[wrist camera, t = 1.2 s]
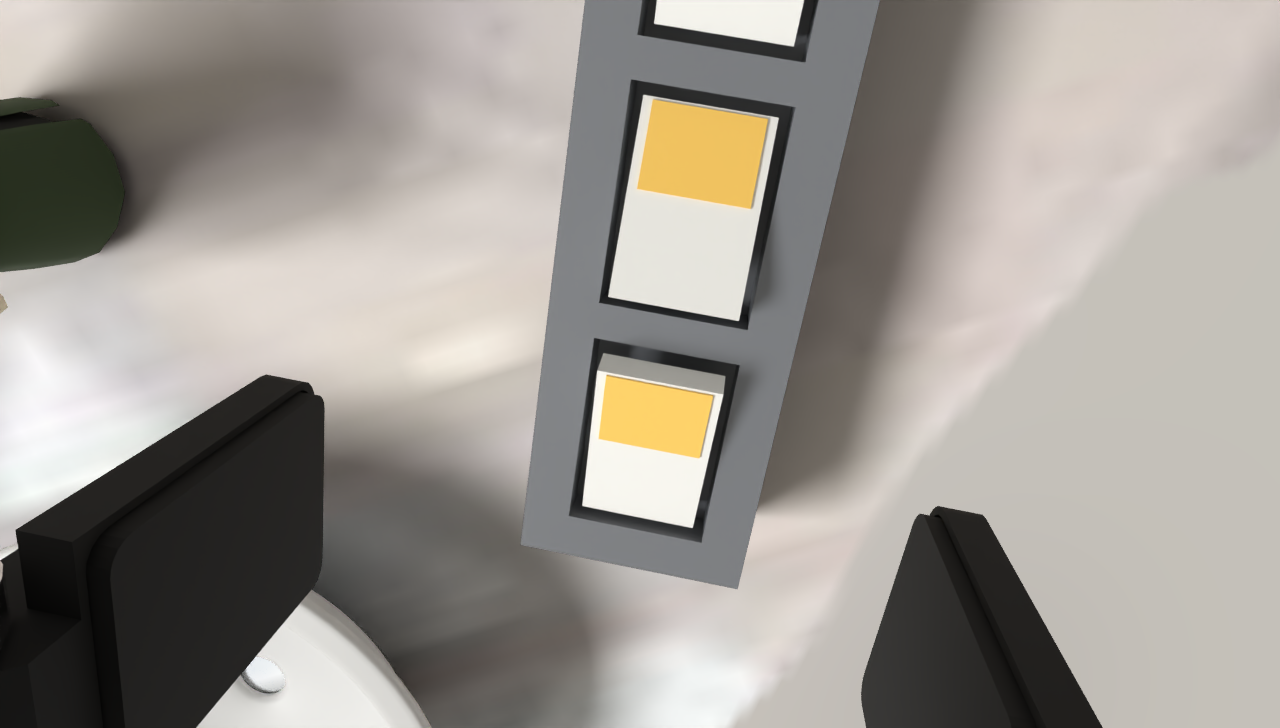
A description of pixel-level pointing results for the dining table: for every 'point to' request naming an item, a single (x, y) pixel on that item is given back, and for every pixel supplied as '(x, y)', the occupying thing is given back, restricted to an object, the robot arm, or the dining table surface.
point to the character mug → (53, 189)
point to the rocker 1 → (650, 439)
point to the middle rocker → (692, 207)
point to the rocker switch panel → (739, 350)
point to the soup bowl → (318, 678)
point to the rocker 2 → (735, 18)
